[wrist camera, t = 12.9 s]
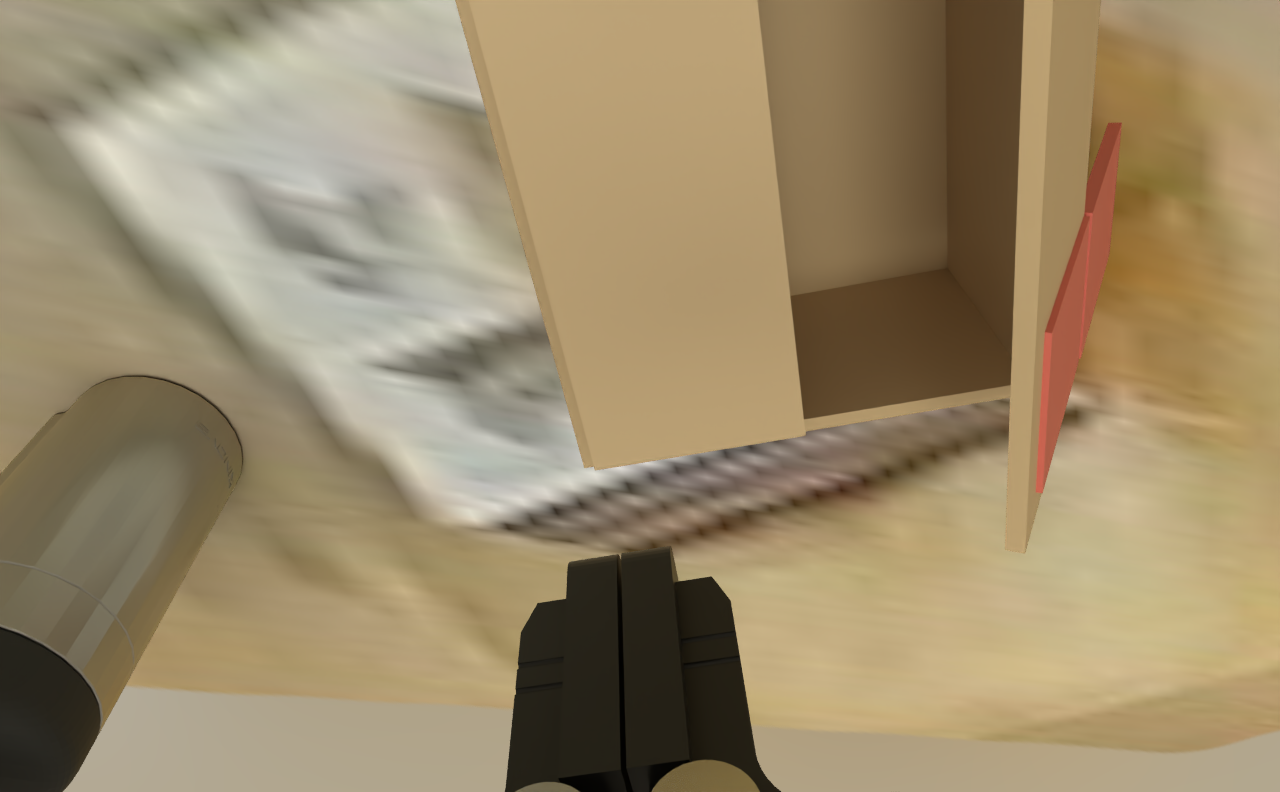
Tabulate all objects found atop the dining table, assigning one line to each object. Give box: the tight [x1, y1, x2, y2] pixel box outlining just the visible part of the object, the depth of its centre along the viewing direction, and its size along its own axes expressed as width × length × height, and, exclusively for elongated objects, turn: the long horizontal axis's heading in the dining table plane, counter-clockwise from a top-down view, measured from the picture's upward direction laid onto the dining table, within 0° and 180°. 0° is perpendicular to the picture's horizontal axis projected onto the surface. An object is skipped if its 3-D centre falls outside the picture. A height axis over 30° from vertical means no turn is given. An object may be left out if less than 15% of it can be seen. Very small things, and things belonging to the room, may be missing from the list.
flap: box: [1005, 0, 1122, 554], centre depth 31 cm, size 19×18×1 cm
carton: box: [455, 0, 1024, 470], centre depth 37 cm, size 19×20×12 cm
